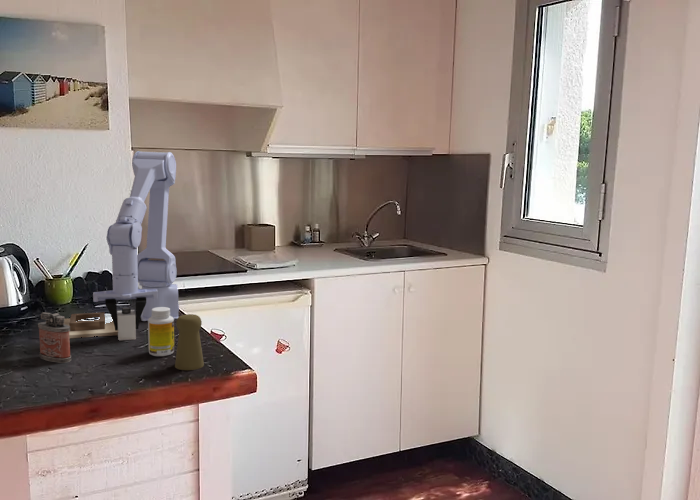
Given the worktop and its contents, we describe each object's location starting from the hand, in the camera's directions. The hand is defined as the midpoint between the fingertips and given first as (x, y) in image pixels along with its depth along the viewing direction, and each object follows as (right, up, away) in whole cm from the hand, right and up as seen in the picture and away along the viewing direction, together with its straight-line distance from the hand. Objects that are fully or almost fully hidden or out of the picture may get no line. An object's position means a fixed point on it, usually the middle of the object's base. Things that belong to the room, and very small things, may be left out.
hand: (126, 328), depth 161 cm
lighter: (-10, -5, -17) cm, 20 cm away
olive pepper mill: (+20, -6, -19) cm, 28 cm away
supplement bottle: (+12, -4, -11) cm, 17 cm away
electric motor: (-11, +4, +39) cm, 41 cm away
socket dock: (-12, -1, +7) cm, 14 cm away
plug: (0, -2, 0) cm, 2 cm away
